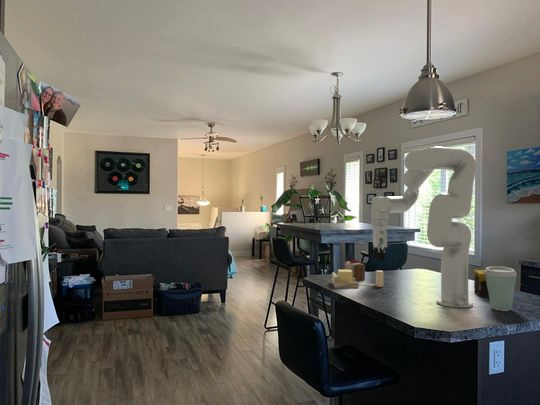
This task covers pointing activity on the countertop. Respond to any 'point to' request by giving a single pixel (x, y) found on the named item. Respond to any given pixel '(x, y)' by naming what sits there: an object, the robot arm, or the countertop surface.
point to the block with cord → (347, 277)
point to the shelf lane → (344, 283)
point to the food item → (356, 269)
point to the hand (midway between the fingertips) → (378, 259)
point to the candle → (480, 284)
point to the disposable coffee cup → (500, 287)
